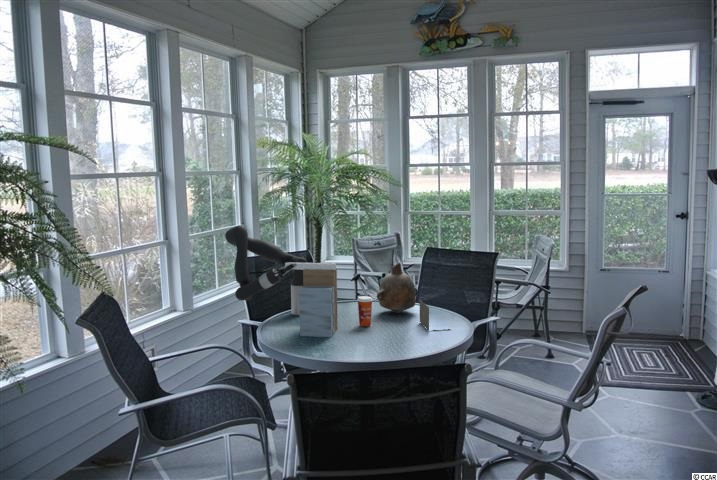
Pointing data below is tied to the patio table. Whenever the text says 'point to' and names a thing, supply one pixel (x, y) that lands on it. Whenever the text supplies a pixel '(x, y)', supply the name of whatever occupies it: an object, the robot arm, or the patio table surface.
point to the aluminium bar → (313, 266)
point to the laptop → (424, 314)
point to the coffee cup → (364, 310)
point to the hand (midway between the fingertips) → (295, 263)
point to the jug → (397, 291)
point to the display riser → (318, 303)
